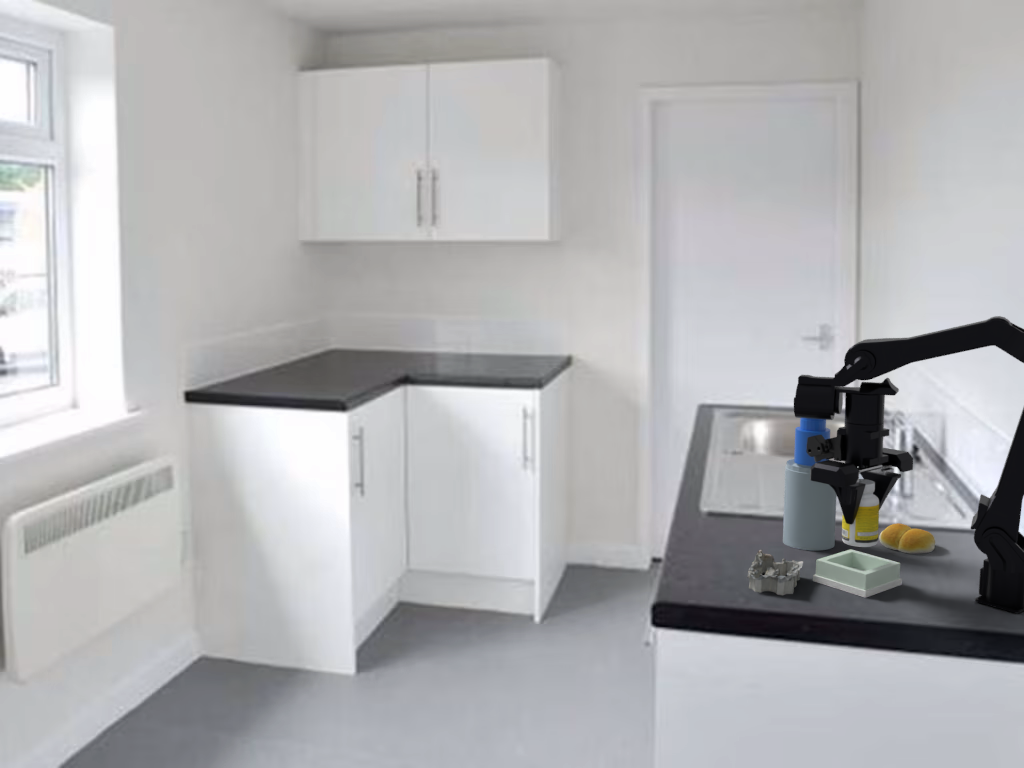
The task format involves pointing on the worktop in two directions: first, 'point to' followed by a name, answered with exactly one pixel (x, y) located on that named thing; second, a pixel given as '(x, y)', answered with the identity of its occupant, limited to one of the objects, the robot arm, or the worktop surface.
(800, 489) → the spray bottle
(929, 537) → the bread roll
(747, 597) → the worktop surface
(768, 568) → the egg carton
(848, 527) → the supplement bottle
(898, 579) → the socket block
